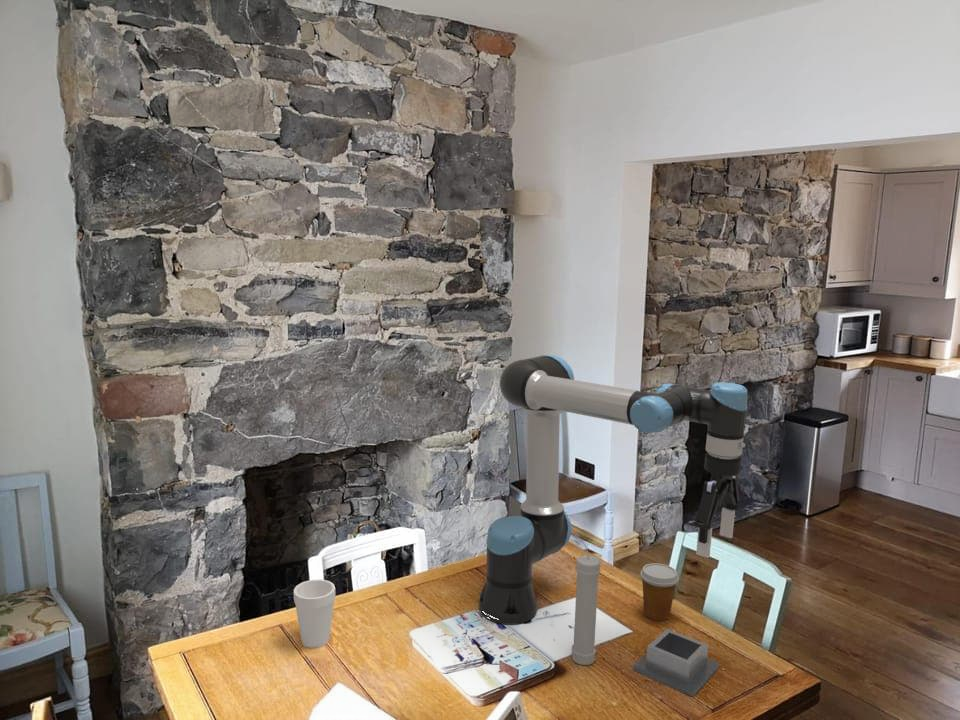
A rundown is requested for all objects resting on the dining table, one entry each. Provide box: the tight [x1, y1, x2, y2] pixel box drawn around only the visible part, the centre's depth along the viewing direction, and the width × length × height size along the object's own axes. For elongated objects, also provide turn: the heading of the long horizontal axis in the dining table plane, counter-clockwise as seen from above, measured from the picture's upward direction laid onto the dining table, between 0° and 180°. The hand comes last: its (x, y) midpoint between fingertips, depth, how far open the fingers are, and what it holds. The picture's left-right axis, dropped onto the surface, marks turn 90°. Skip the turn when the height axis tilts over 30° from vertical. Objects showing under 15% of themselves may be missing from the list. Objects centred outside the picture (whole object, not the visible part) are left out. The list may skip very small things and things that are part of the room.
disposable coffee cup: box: [640, 562, 680, 621], centre depth 181 cm, size 10×10×12 cm
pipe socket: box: [632, 628, 720, 698], centre depth 158 cm, size 14×14×6 cm
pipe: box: [571, 533, 601, 666], centre depth 159 cm, size 6×6×30 cm
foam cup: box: [293, 579, 336, 649], centre depth 165 cm, size 10×9×13 cm
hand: (714, 545), depth 157 cm, fingers open, 13 cm apart
